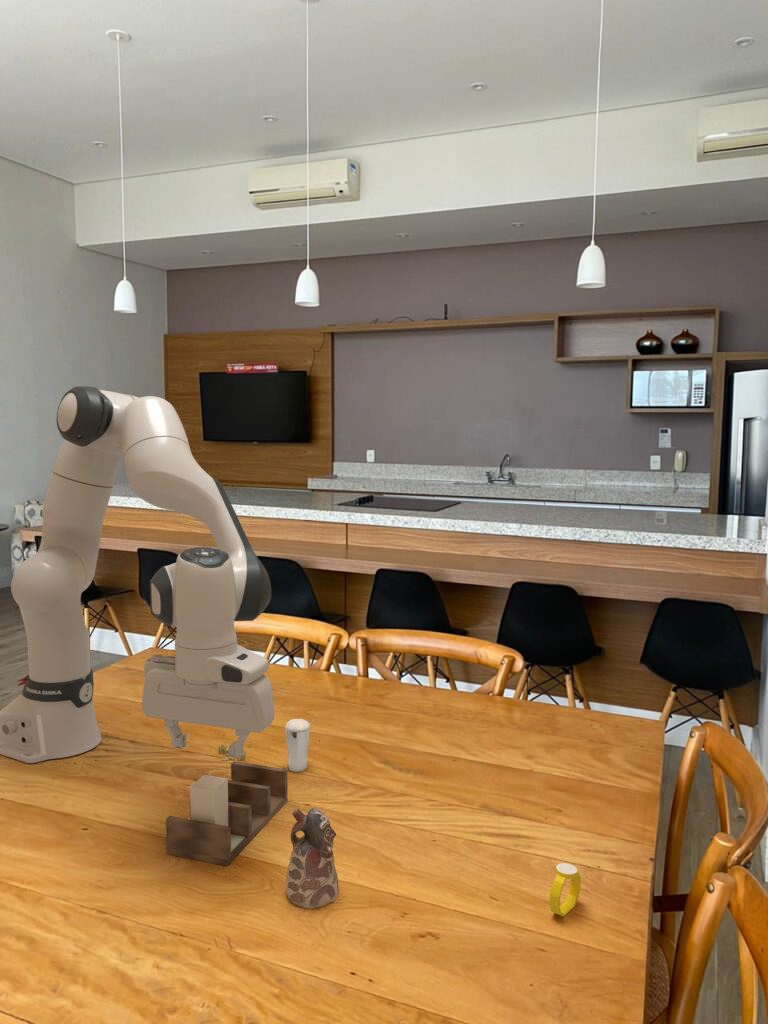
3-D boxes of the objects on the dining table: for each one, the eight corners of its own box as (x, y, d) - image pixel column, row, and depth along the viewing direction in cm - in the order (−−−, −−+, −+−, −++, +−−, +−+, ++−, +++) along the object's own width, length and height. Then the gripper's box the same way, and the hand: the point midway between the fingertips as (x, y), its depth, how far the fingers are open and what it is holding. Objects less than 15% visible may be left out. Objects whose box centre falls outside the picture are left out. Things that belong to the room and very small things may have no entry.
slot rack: (166, 854, 118) (165, 818, 117) (234, 791, 138) (233, 761, 137) (227, 866, 115) (227, 830, 114) (287, 800, 135) (287, 769, 134)
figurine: (331, 912, 105) (331, 825, 103) (279, 905, 106) (278, 819, 104) (343, 881, 112) (344, 799, 110) (294, 875, 113) (294, 794, 111)
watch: (565, 898, 109) (568, 856, 108) (584, 907, 107) (587, 863, 106) (543, 915, 104) (546, 871, 104) (562, 924, 102) (565, 880, 102)
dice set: (219, 754, 154) (219, 744, 154) (246, 752, 155) (245, 743, 155) (217, 765, 149) (217, 755, 149) (245, 764, 150) (245, 754, 150)
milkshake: (310, 775, 144) (310, 721, 143) (281, 772, 145) (281, 719, 144) (317, 764, 149) (317, 712, 147) (289, 761, 150) (289, 710, 149)
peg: (191, 843, 119) (190, 786, 118) (205, 830, 123) (204, 774, 121) (215, 848, 118) (214, 790, 116) (228, 835, 121) (227, 778, 120)
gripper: (131, 659, 117) (134, 750, 118) (259, 674, 110) (259, 770, 112) (156, 647, 123) (158, 734, 124) (278, 661, 116) (279, 752, 118)
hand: (207, 751), depth 118 cm, fingers open, 8 cm apart
